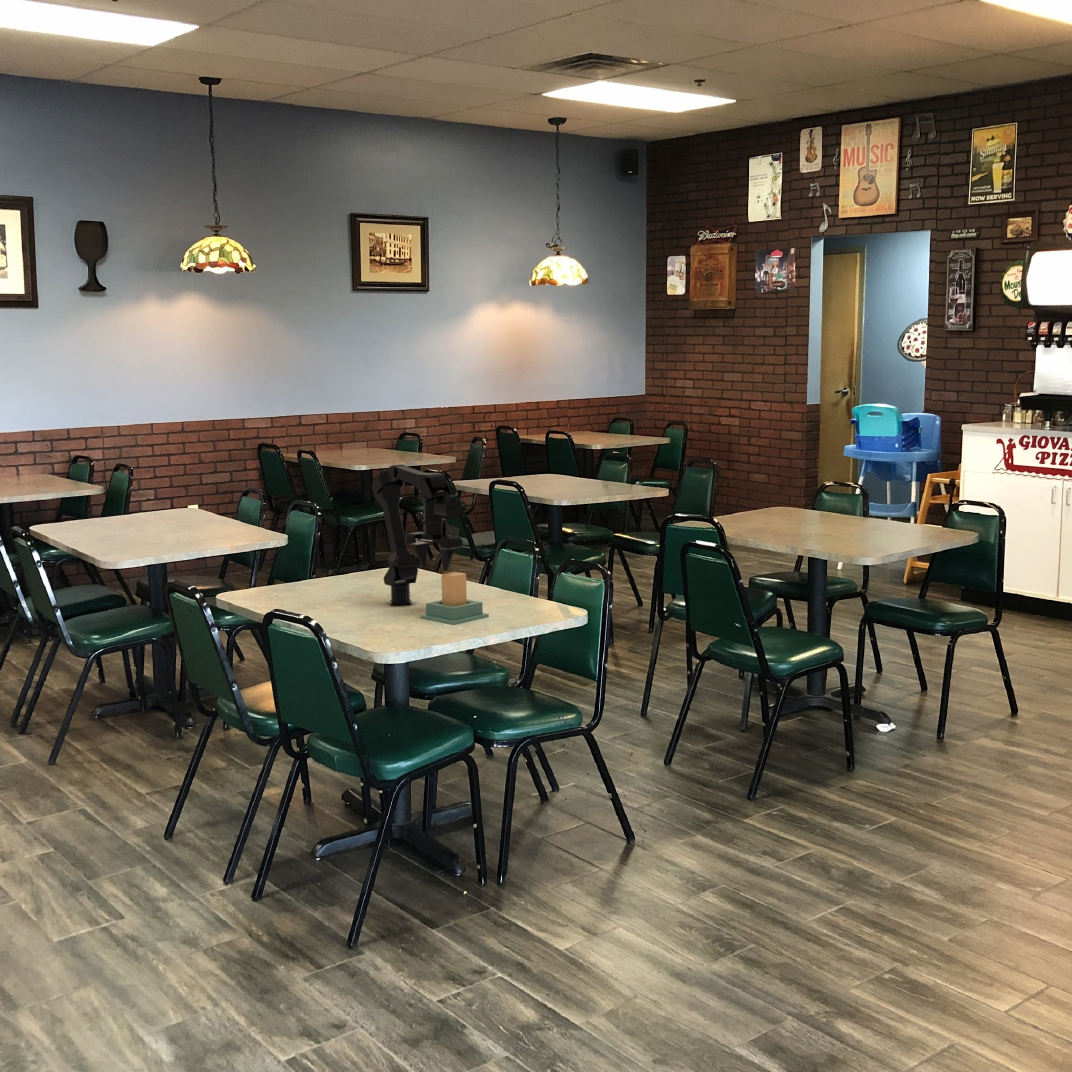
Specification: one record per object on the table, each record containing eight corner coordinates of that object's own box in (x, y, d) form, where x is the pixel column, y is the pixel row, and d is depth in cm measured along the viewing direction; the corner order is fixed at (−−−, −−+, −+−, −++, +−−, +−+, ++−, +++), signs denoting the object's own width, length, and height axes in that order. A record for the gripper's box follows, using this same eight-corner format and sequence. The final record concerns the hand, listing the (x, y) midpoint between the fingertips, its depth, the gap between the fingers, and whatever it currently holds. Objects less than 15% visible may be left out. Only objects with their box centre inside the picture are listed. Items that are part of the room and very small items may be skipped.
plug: (442, 614, 350) (441, 574, 349) (454, 612, 354) (454, 571, 352) (454, 617, 347) (453, 576, 345) (466, 614, 351) (466, 573, 349)
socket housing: (420, 618, 350) (419, 603, 350) (455, 610, 360) (455, 596, 360) (453, 624, 341) (453, 609, 340) (488, 616, 351) (488, 602, 350)
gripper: (475, 516, 353) (476, 568, 355) (432, 511, 366) (433, 562, 368) (447, 520, 345) (449, 574, 347) (404, 515, 358) (405, 567, 360)
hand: (434, 569), depth 356 cm, fingers open, 9 cm apart
